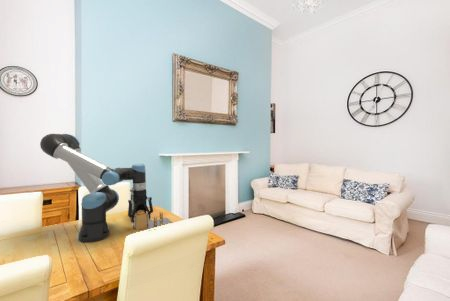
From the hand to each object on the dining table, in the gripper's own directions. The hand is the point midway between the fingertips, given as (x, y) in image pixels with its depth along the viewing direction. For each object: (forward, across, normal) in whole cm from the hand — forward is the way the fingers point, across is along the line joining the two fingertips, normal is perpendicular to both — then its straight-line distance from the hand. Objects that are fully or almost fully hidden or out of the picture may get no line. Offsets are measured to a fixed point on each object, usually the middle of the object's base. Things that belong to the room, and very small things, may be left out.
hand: (141, 225), depth 143 cm
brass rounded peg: (+1, +14, +3) cm, 14 cm away
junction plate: (+1, +10, -1) cm, 11 cm away
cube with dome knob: (+1, -1, 0) cm, 1 cm away
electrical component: (+1, +2, +19) cm, 19 cm away
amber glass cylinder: (+1, +8, -4) cm, 9 cm away
